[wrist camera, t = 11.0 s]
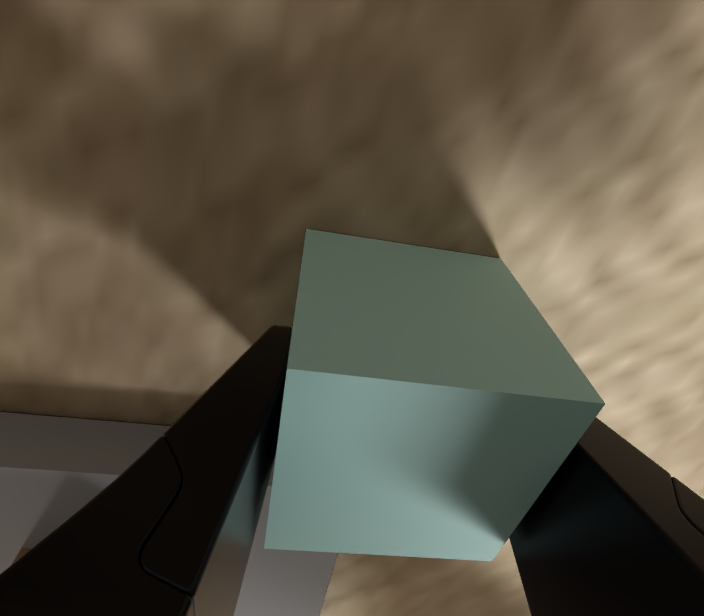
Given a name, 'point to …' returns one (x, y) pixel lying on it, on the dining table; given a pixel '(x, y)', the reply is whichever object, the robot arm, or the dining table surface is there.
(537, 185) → the dining table surface
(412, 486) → the teal block
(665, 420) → the dining table surface
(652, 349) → the dining table surface
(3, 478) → the slate board
